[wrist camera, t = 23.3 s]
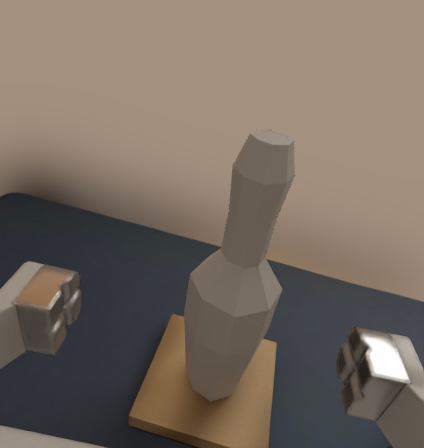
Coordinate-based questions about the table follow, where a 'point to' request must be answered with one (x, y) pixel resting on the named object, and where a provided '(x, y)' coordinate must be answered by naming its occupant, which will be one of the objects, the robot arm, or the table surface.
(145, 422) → the coaster
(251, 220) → the low poly bottle
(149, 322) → the table surface
